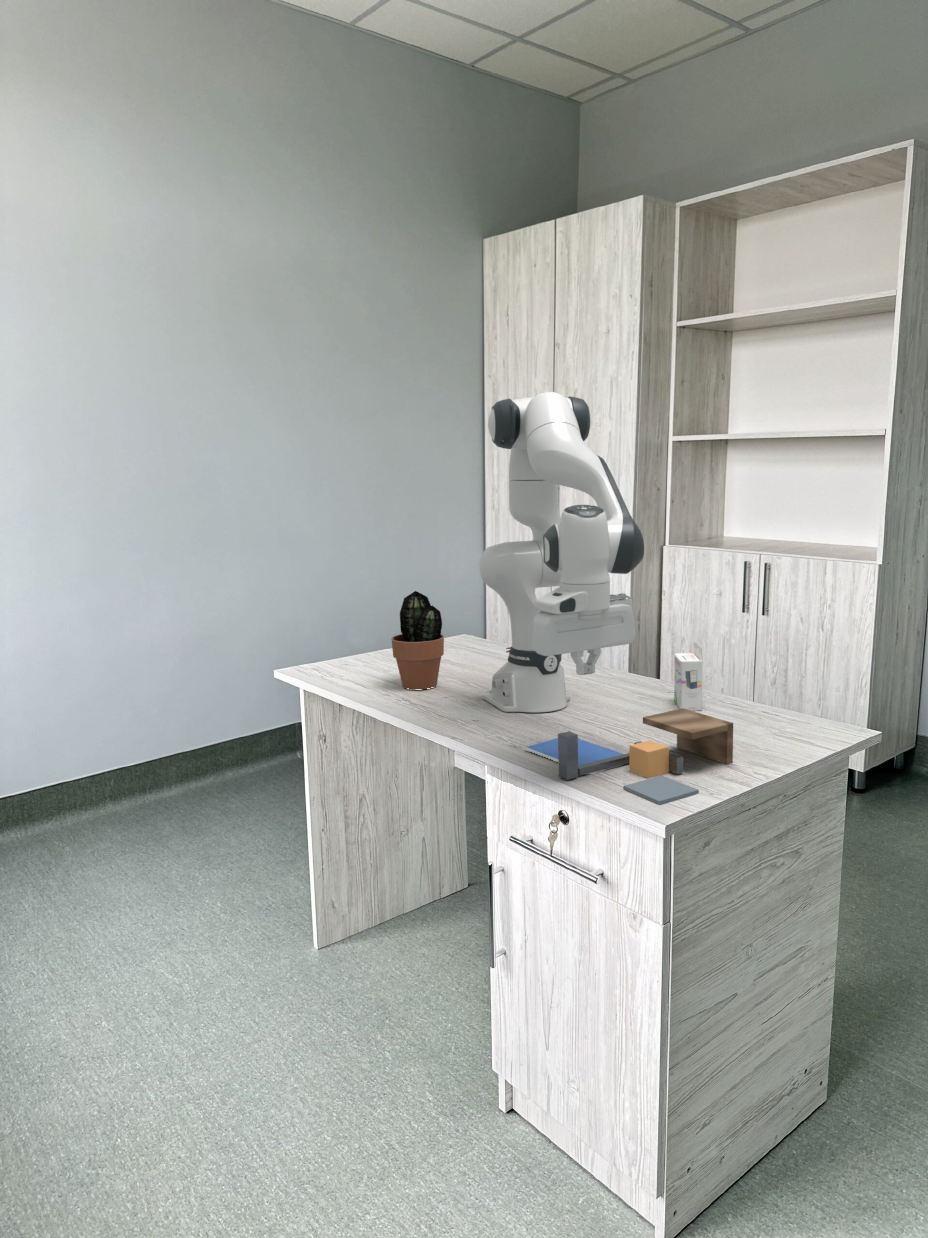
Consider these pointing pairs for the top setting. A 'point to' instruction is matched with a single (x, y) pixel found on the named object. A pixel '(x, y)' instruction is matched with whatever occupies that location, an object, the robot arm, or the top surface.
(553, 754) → the blue flat slab
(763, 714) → the top surface
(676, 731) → the walnut shelf
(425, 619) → the potted plant
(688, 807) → the top surface
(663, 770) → the orange block
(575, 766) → the grey u-shaped bracket
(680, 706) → the ink box
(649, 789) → the slate mat
